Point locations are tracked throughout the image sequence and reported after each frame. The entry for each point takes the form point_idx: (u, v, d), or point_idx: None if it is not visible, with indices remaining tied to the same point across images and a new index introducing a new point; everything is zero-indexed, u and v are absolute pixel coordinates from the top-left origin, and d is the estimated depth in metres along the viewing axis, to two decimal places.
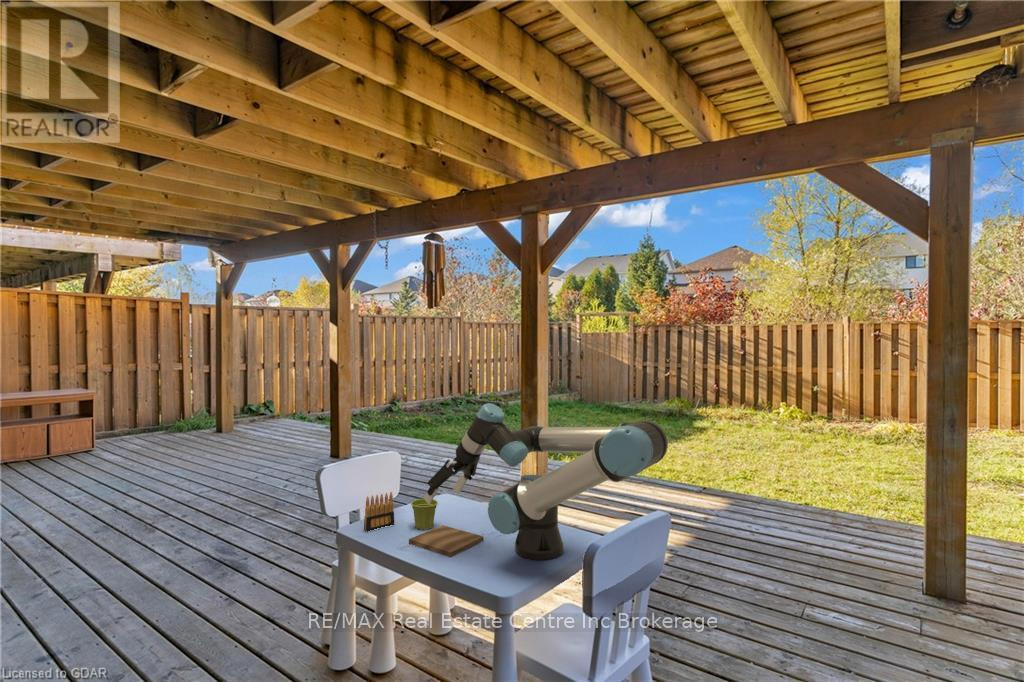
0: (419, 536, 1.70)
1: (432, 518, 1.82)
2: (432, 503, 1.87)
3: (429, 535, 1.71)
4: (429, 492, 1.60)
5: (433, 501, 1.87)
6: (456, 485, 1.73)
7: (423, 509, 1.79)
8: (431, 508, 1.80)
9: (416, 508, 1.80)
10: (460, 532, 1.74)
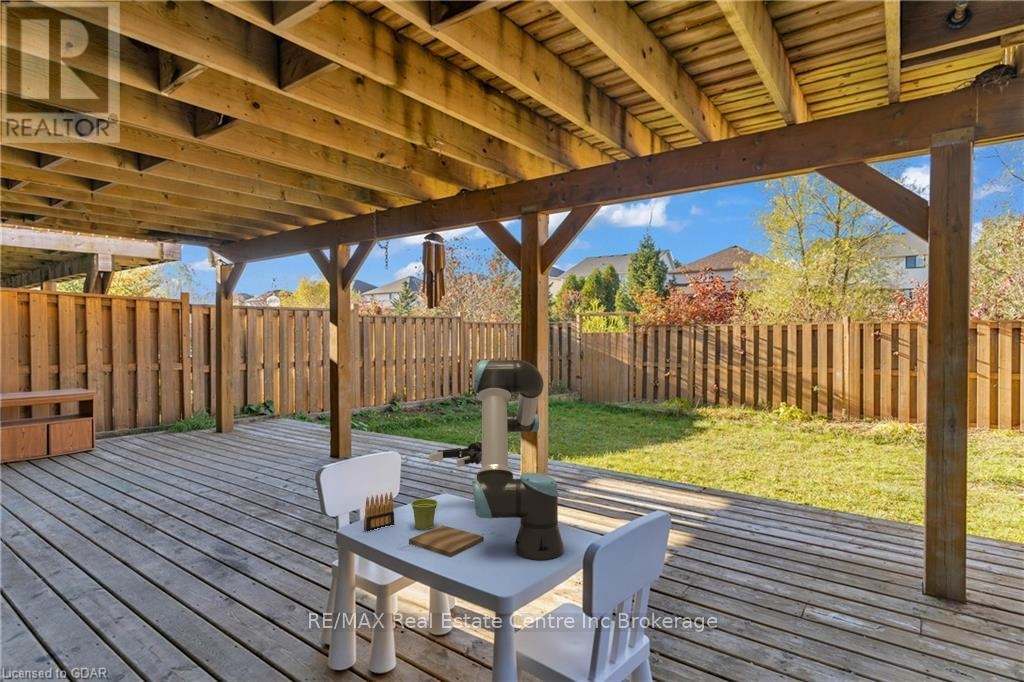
0: (419, 536, 1.70)
1: (432, 518, 1.82)
2: (432, 503, 1.87)
3: (429, 535, 1.71)
4: None
5: (433, 501, 1.87)
6: None
7: (423, 509, 1.79)
8: (431, 508, 1.80)
9: (416, 508, 1.80)
10: (460, 532, 1.74)
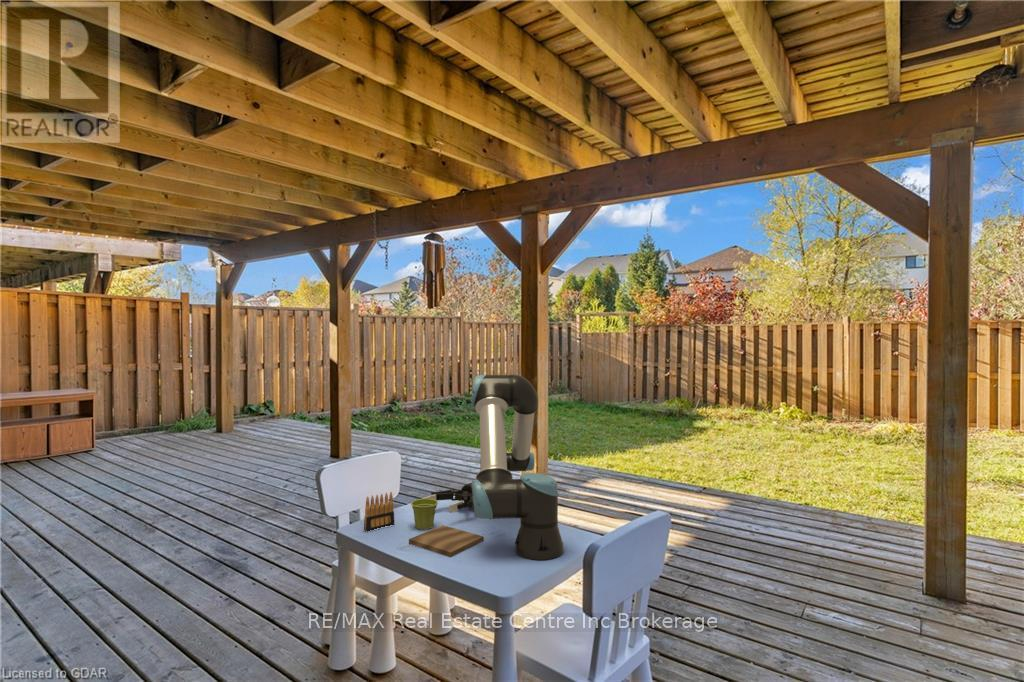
0: (419, 536, 1.70)
1: (432, 518, 1.82)
2: (432, 503, 1.87)
3: (429, 535, 1.71)
4: None
5: (433, 501, 1.87)
6: None
7: (423, 509, 1.79)
8: (431, 508, 1.80)
9: (416, 508, 1.80)
10: (460, 532, 1.74)
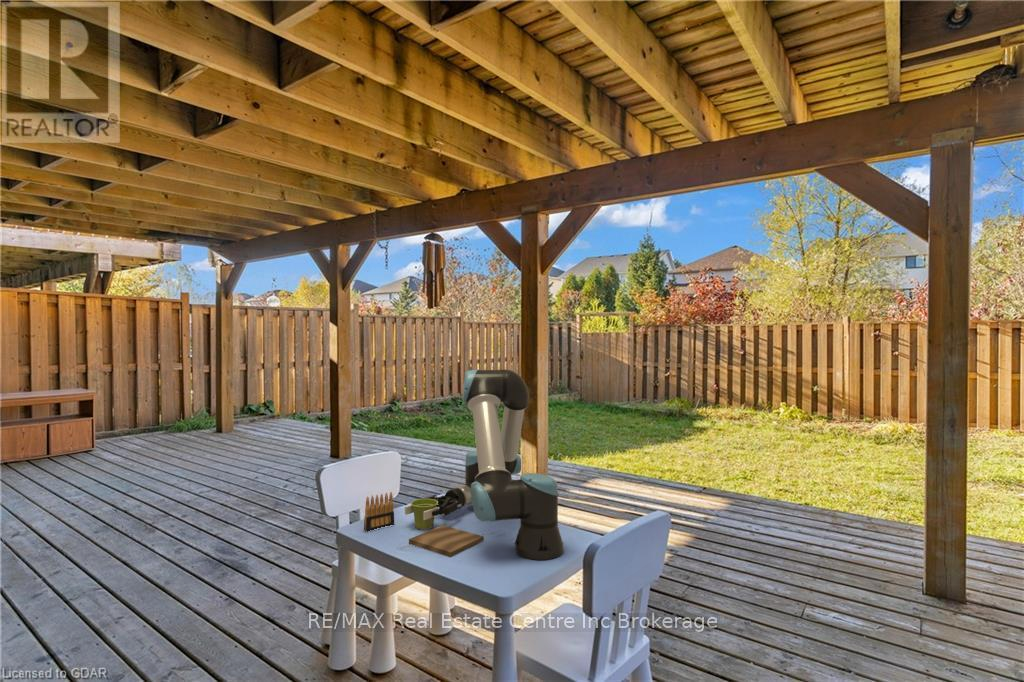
0: (419, 536, 1.70)
1: (432, 518, 1.82)
2: (432, 503, 1.87)
3: (429, 535, 1.71)
4: None
5: (433, 501, 1.87)
6: None
7: (423, 509, 1.79)
8: (431, 508, 1.80)
9: (416, 508, 1.80)
10: (460, 532, 1.74)
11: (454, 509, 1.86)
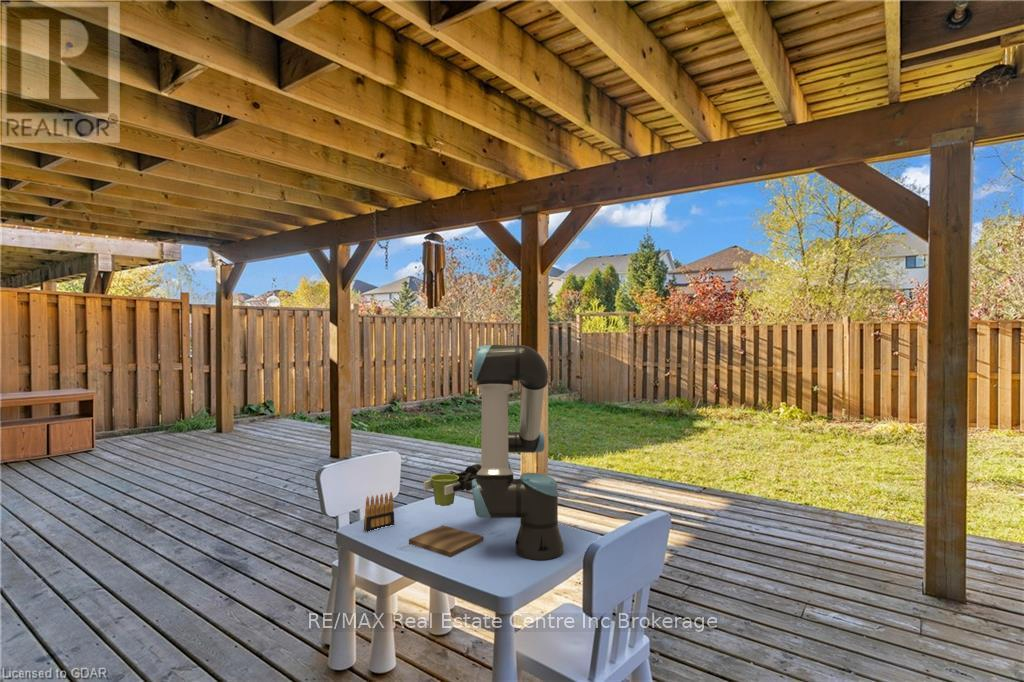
0: (419, 536, 1.70)
1: (453, 494, 1.70)
2: (452, 478, 1.75)
3: (429, 535, 1.71)
4: None
5: (453, 476, 1.75)
6: None
7: (444, 483, 1.67)
8: (452, 483, 1.68)
9: (436, 483, 1.68)
10: (460, 532, 1.74)
11: None
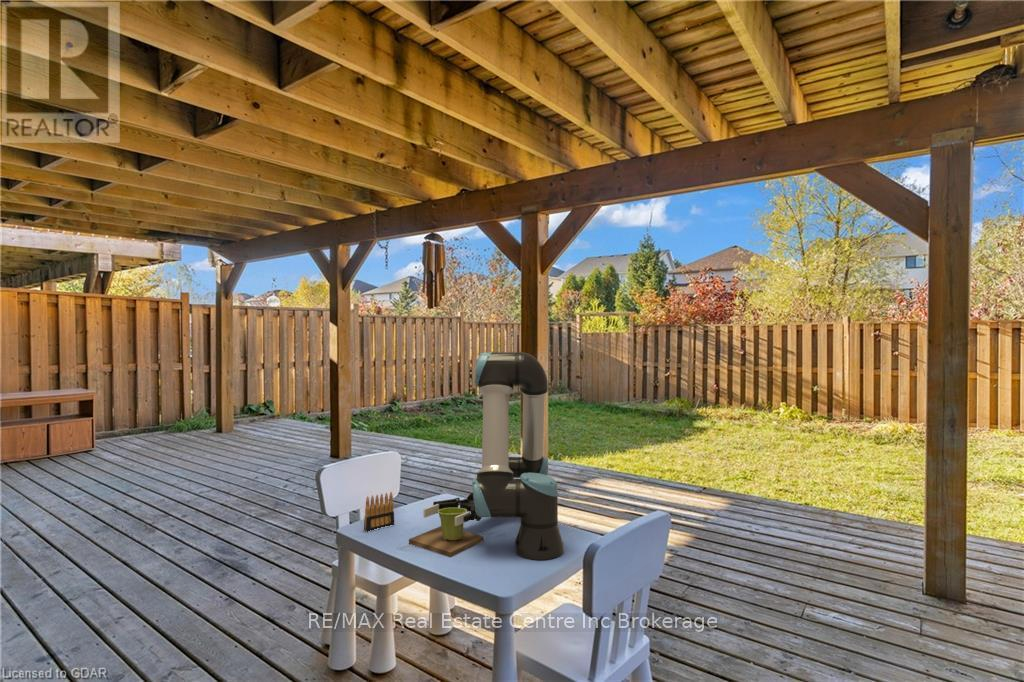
0: (419, 536, 1.70)
1: (461, 527, 1.67)
2: (460, 512, 1.72)
3: (429, 535, 1.71)
4: None
5: (461, 510, 1.72)
6: None
7: (452, 516, 1.65)
8: None
9: (444, 516, 1.65)
10: None
11: None
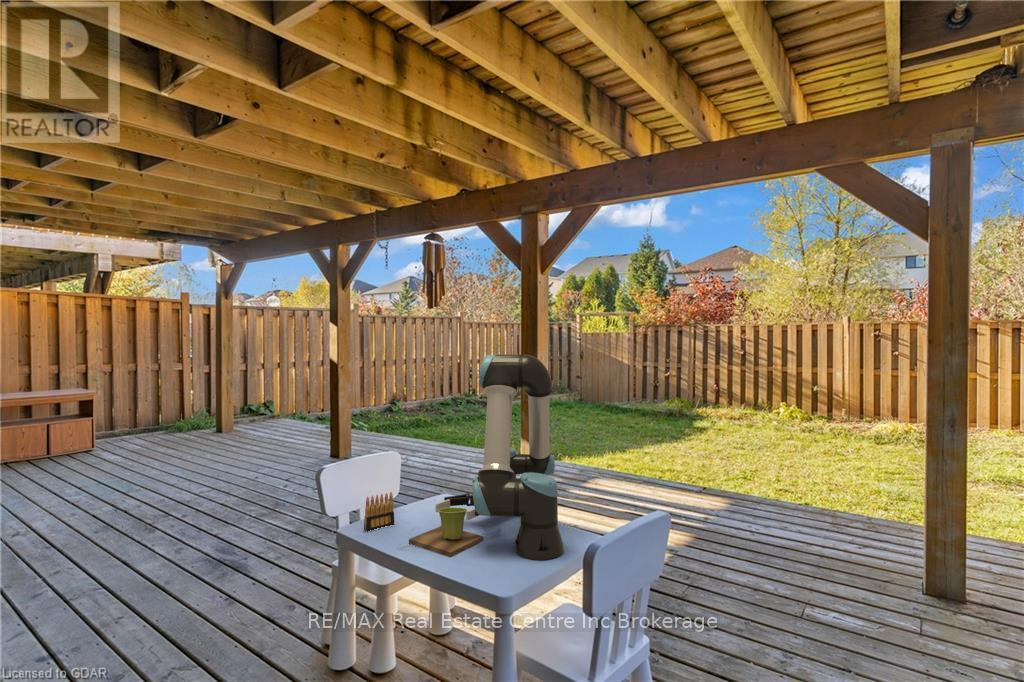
0: (419, 536, 1.70)
1: (461, 526, 1.67)
2: (460, 512, 1.73)
3: (429, 535, 1.71)
4: None
5: (461, 509, 1.73)
6: None
7: (452, 515, 1.65)
8: (461, 514, 1.66)
9: (444, 514, 1.66)
10: None
11: None
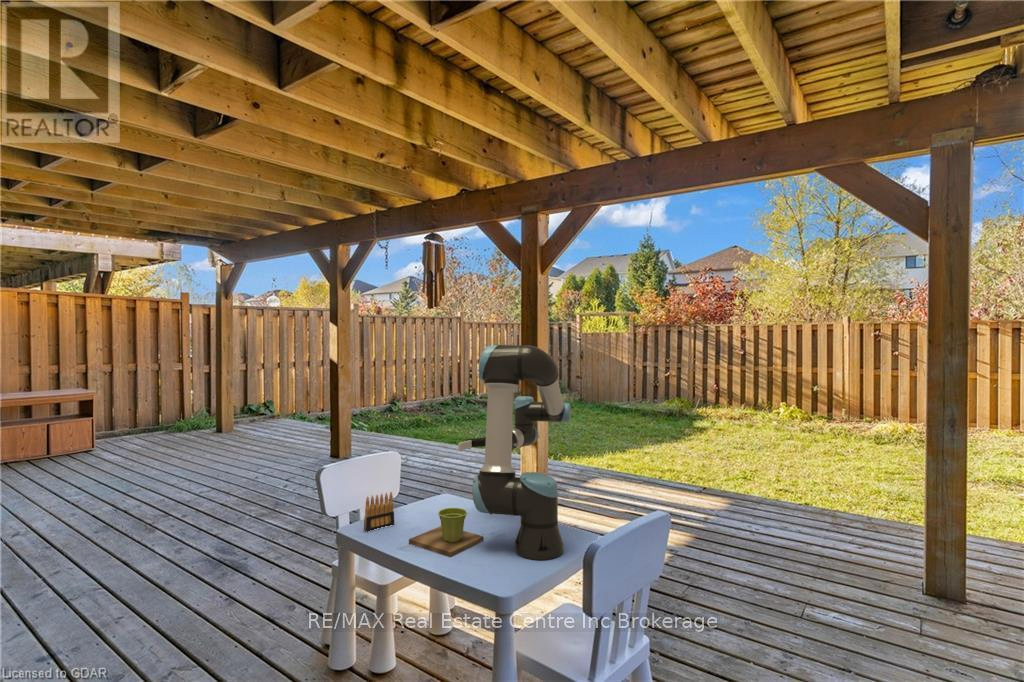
0: (419, 536, 1.70)
1: (461, 529, 1.67)
2: (460, 512, 1.71)
3: (429, 535, 1.71)
4: None
5: (461, 510, 1.71)
6: None
7: (452, 519, 1.64)
8: (461, 518, 1.65)
9: (445, 519, 1.64)
10: None
11: (513, 447, 1.86)
